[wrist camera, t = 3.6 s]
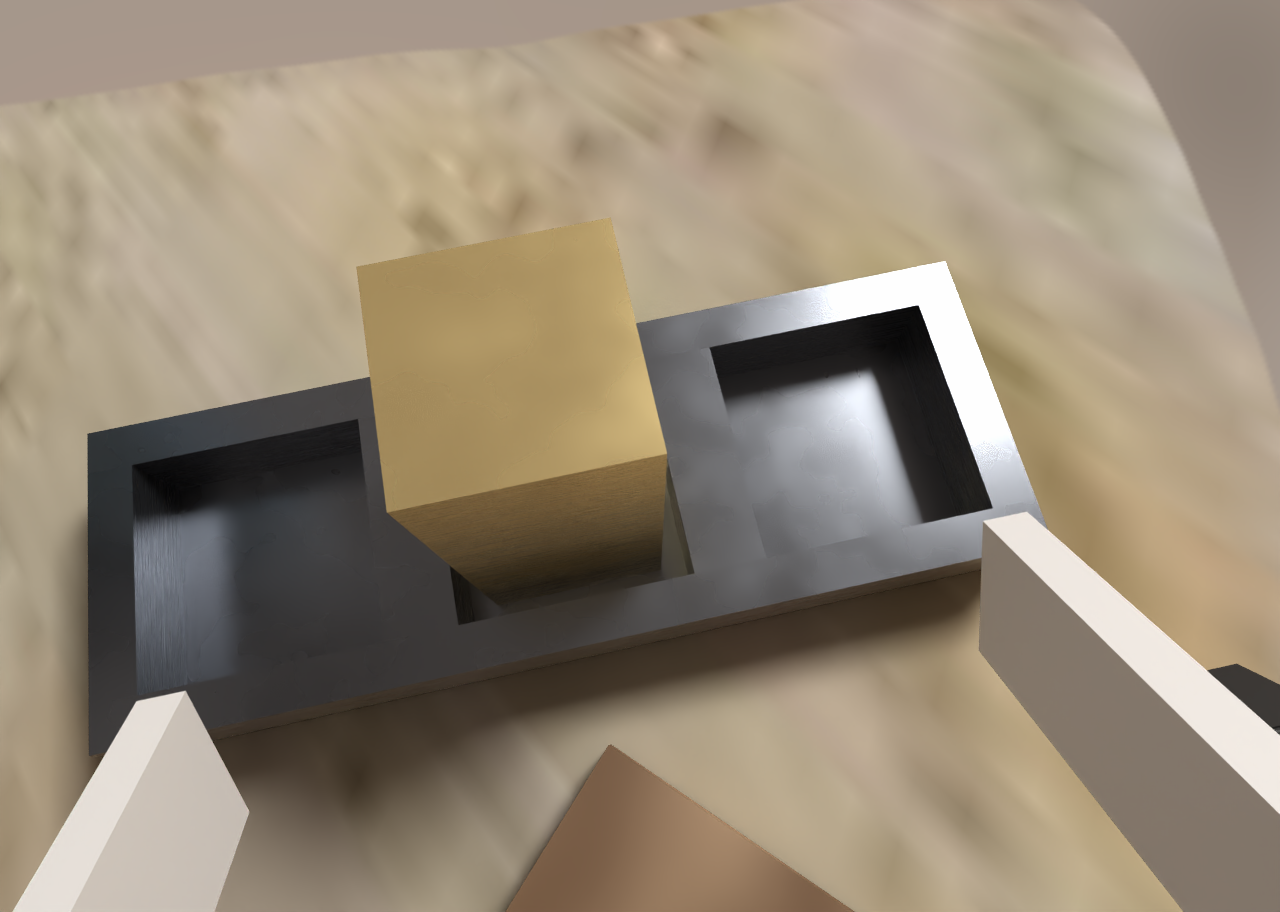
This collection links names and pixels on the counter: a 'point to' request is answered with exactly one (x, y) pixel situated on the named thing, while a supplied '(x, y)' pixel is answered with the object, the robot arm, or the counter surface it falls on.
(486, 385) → the golden rectangular block
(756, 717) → the counter surface
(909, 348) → the compartment tray
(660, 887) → the coaster
